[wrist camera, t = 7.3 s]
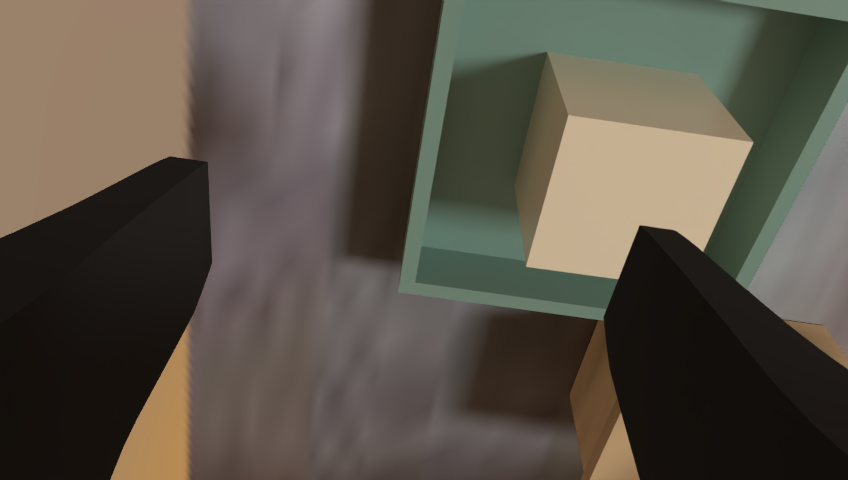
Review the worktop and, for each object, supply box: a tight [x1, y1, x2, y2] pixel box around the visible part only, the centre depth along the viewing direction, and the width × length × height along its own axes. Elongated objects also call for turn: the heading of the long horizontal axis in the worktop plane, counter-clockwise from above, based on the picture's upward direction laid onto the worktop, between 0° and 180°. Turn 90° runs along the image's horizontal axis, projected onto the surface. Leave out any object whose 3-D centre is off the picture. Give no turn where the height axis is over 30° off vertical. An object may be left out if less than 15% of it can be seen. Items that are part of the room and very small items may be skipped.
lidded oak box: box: [569, 320, 848, 480], centre depth 25 cm, size 9×6×5 cm, turn 82°
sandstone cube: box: [514, 52, 754, 279], centre depth 19 cm, size 4×4×4 cm
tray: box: [398, 0, 848, 321], centre depth 20 cm, size 11×11×2 cm
